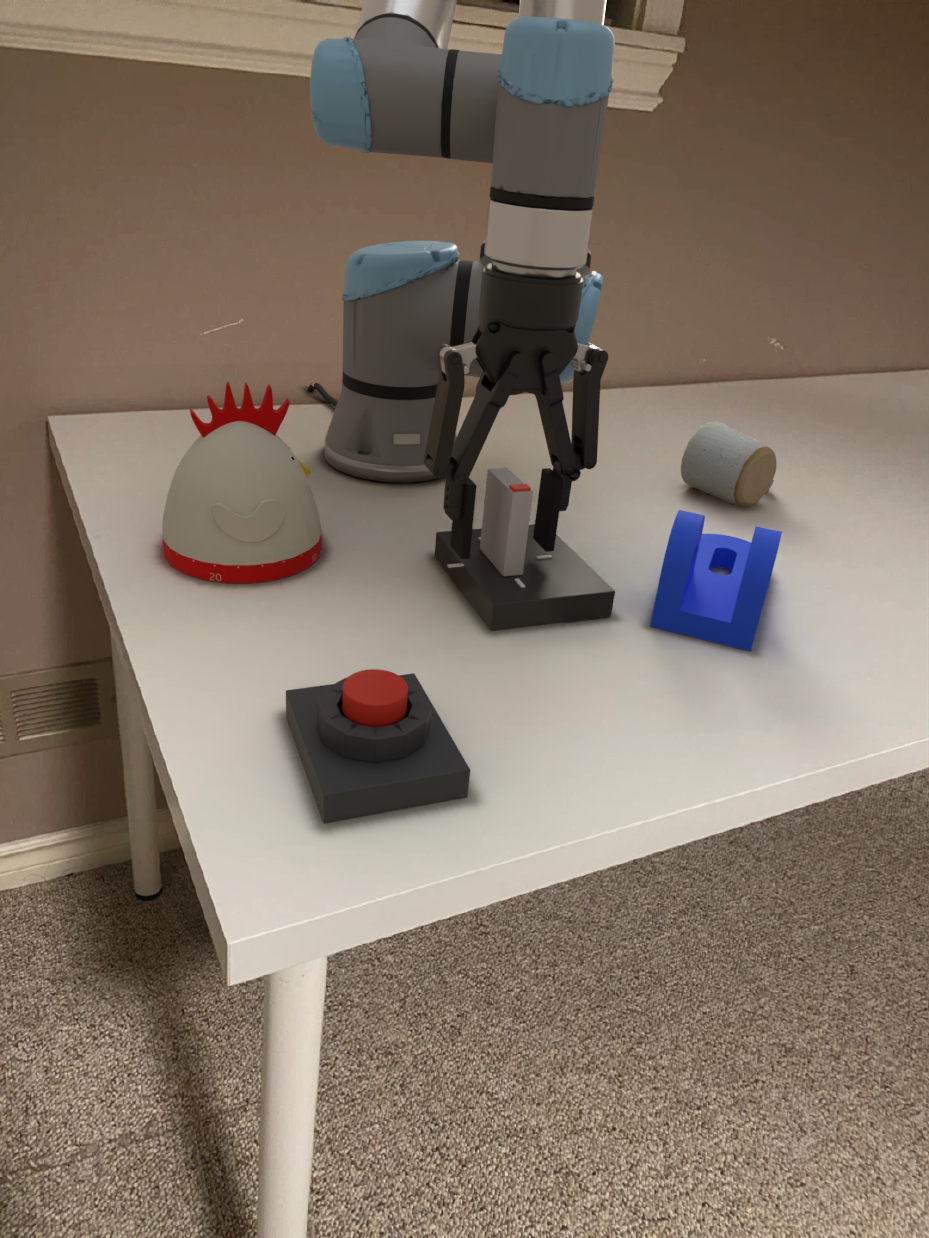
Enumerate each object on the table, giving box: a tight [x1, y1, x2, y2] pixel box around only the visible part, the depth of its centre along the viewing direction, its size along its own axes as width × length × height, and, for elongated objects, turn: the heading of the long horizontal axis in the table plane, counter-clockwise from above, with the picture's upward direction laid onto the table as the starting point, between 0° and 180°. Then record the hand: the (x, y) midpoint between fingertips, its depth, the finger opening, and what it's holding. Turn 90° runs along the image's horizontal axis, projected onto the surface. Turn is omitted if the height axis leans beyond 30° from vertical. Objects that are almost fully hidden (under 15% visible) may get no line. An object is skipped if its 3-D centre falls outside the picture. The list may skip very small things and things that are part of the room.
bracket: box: [649, 509, 783, 652], centre depth 83 cm, size 18×8×9 cm, turn 159°
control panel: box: [433, 523, 616, 632], centre depth 83 cm, size 14×12×3 cm
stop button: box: [342, 668, 408, 727], centre depth 59 cm, size 4×4×2 cm
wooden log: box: [680, 420, 777, 507], centre depth 106 cm, size 11×8×8 cm
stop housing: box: [285, 672, 471, 824], centre depth 60 cm, size 11×9×4 cm
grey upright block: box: [480, 467, 534, 576], centre depth 80 cm, size 6×2×8 cm, turn 21°
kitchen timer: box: [161, 381, 323, 584], centre depth 82 cm, size 14×14×15 cm
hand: (502, 547), depth 81 cm, fingers open, 7 cm apart
